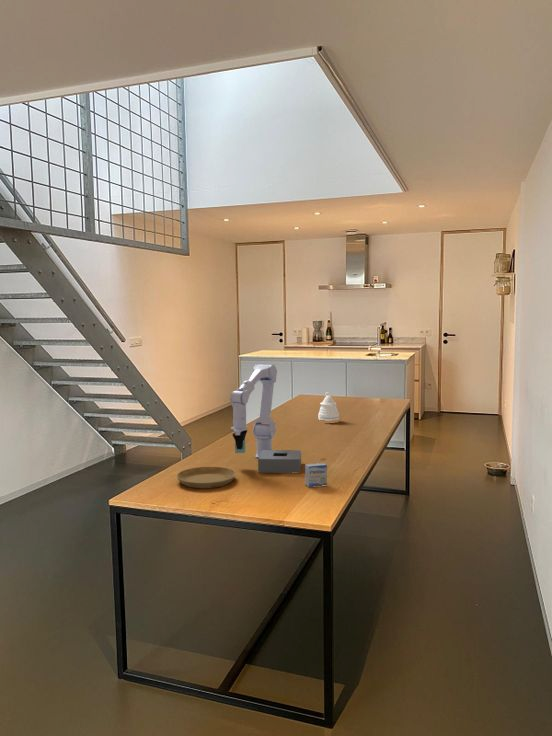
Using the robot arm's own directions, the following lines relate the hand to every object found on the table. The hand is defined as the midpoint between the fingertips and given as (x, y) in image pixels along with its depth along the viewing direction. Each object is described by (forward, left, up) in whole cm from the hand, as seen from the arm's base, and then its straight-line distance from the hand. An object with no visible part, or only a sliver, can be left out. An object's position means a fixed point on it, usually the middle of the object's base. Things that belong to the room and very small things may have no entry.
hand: (240, 447), depth 256 cm
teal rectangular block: (0, 0, -2) cm, 2 cm away
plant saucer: (+21, -11, -9) cm, 26 cm away
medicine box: (+25, +34, -9) cm, 43 cm away
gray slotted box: (0, +18, -9) cm, 20 cm away
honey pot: (-104, +41, -9) cm, 112 cm away
